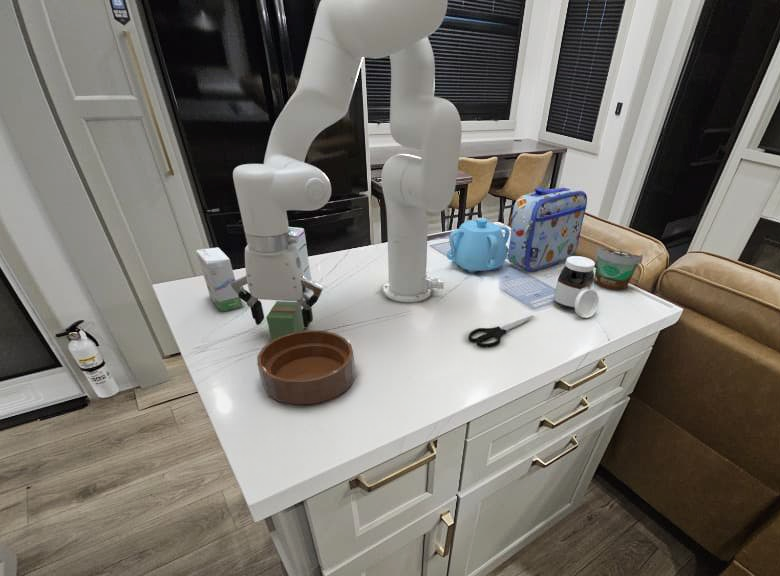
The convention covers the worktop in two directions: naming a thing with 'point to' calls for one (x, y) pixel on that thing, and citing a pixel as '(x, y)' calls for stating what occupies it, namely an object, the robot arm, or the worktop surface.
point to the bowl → (306, 366)
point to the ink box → (219, 278)
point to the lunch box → (546, 227)
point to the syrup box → (302, 250)
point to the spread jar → (577, 287)
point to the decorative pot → (478, 245)
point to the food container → (615, 268)
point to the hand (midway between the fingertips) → (284, 322)
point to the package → (285, 319)
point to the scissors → (494, 333)
